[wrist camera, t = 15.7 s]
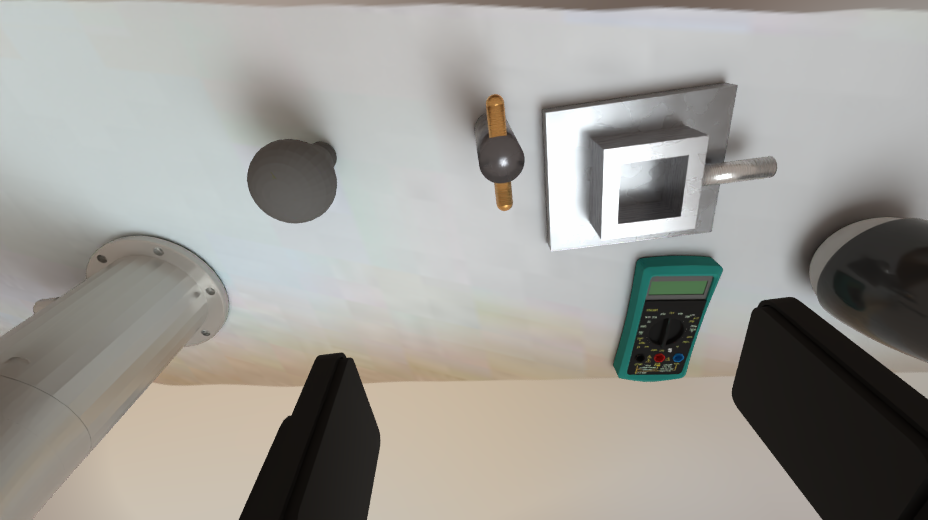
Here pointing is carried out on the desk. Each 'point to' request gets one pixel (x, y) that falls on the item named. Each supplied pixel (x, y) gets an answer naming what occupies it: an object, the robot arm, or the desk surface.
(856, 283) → the pump dispenser
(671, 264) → the digital multimeter
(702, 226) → the block
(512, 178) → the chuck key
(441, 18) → the desk surface
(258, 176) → the light bulb
